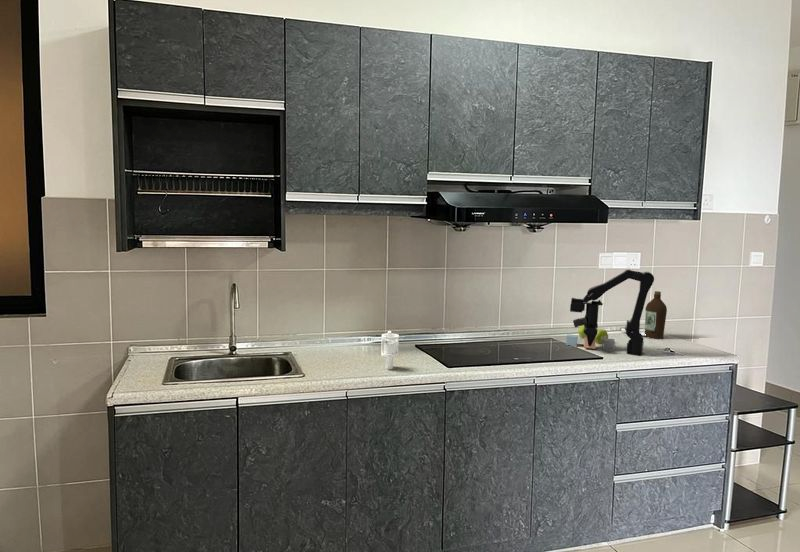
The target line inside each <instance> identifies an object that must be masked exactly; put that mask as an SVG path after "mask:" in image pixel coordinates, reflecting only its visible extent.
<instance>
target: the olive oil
mask: <svg viewBox="0 0 800 552" xmlns="http://www.w3.org/2000/svg"><path fill="white" fill-rule="evenodd" d="M653 293H654V294H653V298H652V299H651V300H650V301H649V302H648V303H647V304H646V305H645V310H644V311H645V313H644V314H645V319H644V335H645V334H646V336H647V337H649V338H648V339H652V338H654V339H653V340H663V339H664V335H665V326H666V318H667V314H668V309H667V305H666V304H665V303H664V301H663V300H662V299H661V296H662V294H661V293H662V291H660V290H659V291H657V290H655V291H654V292H653ZM647 337H646V338H647Z"/></svg>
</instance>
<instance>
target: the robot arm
mask: <svg viewBox="0 0 800 552" xmlns="http://www.w3.org/2000/svg"><path fill="white" fill-rule="evenodd" d="M629 279H630V280H634V281H636V282H639V290H638V295H637V297H636V302H635V305H634V309H633V313H632V316H631V318H630V320H626V324H625V325H626V326H625V327H624V330H625V333H626V336H627V337H628V338H630V339H629V340H628V341H627V343H626V354H629V355H634V356H642V355H644V353H645V352H644V335H643V334H642V333H641V332H640V329H641V318H642V314H643V311H644V308H645V304H646V301H647V296H648V293H649V291H650V290H651V287H652V286H653V284H654V281H655V277H654V275H653V274H652V272H650V271H643V272H641V271H637V270H636V271H635V270H631V269H625V270H624V271H622V272H621V273H619V274H618V275H615V276H614V277H612V278H610V279H609V280H606V281H605V282H604V283H601V284H598V285H594V286H592V287H590V288H589V289H588V290H587V292H586V295H585V296H584V297H583V298H575V297H571V301H570V307H569V308H570V309H569V312H571V313H581V314H582V313H583V312H585V314H584V317H579V318H575V319H573V320H572V322H573V327H574V328H579V327H580V326H582V325H584V326H585V328H584V334H586V335H587V339H588V346H591V345H592V343H593V341H594V339H595V337H596V335H597V330H599V329H598V326H599V324H598V319H599V306H603V305H604V303H603V302H602V300H601V299H599V298H601V297H602V296H603V295H604V294H605V293H606V292H608V291H609V290H611V289H613V288H615V287H616V286H618V285H620V284H622V283H624V282H625V281H627V280H629ZM585 306H586V307H585Z"/></svg>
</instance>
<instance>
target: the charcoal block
mask: <svg viewBox="0 0 800 552" xmlns="http://www.w3.org/2000/svg"><path fill="white" fill-rule="evenodd" d="M602 350H603V351H607V350H608V351H609V352H615V339H614V338H609V337H608V338H604V341H603V344H602Z"/></svg>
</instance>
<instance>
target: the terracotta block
mask: <svg viewBox="0 0 800 552" xmlns="http://www.w3.org/2000/svg"><path fill="white" fill-rule="evenodd" d="M595 339H596V337H595ZM595 339H594V341H593V343H592V345H591V346H588V339H587V336H585V338H584V342H583V343H584V345H583V348H584V349H586V348H587V349H594V350H595V349H596V342H595Z"/></svg>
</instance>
